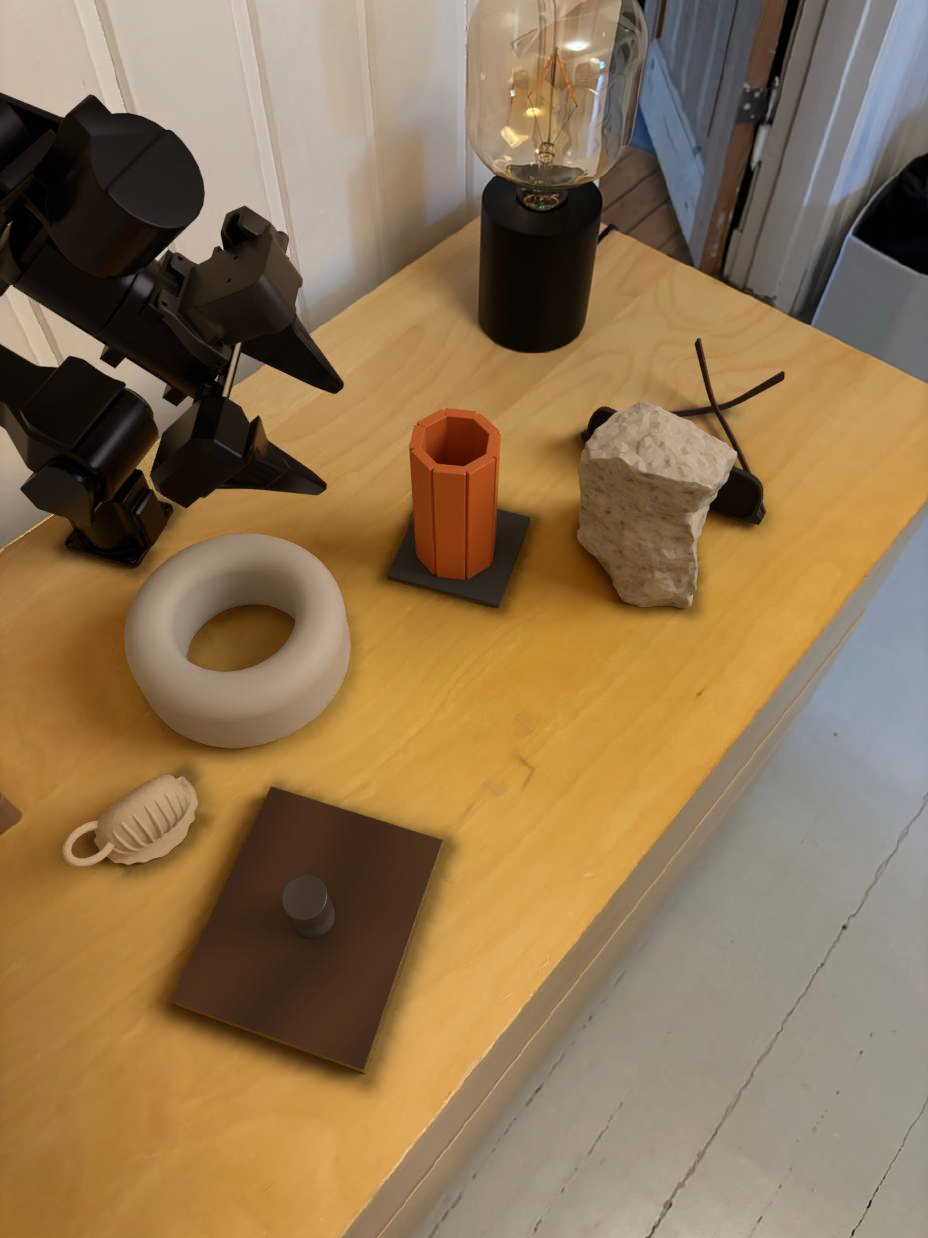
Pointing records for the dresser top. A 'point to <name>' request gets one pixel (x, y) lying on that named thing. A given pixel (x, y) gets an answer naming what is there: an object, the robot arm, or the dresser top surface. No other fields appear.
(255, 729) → the fat ring
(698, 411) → the sunglasses
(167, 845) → the decorative ornament
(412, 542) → the felt mat
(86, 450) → the robot arm
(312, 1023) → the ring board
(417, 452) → the octagonal orange vase
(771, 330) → the dresser top surface
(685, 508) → the decorative stone
